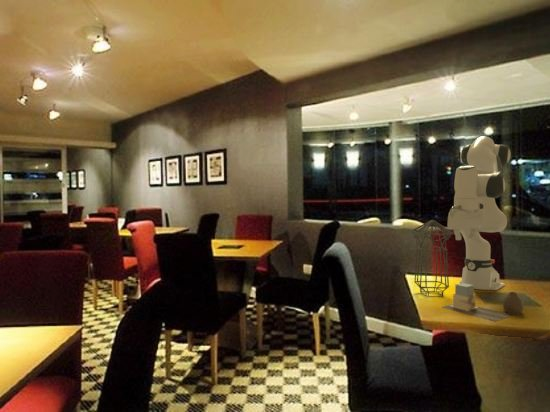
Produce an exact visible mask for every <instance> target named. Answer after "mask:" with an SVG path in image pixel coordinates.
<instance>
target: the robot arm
mask: <svg viewBox="0 0 550 412" xmlns="http://www.w3.org/2000/svg"><path fill="white" fill-rule="evenodd" d="M511 155H512V154H511V149H510V146H508V145H507V144H495V142H494V140H493V139H492V138H491V137H489V136H486V135H485V136H484V135H483V136H482V135H481V136H478V137H477V138H476V139H474V140H473V142H472V143H471V144H466V145H465V146H464V147H462V150H461V152H460V160H461V163H462V164H463V165H461V166H458V167H457V168H456V170H455V174H454V182H453V190H454V197H453V205H452V207H451V208H450V210H449V212H448V216H447V229H449V230H453V233H455V234H454V236H455V241H462V239H464V242H465V257H464V265H465V266H464V267H463V268H462V274H461V275H462V276H461V280H459V284H460V283H465V284H470V285H474V290H484V291H486V290H488V291H497V290H499V289H502V288H503V287H504V286H505V283H504V282H502V281H500V273H498V271H497V270H496V269H495V268H494V267H493V264H495V262H496V261H495V259H492V258H491V249H492V248H491V244H490V242H489V241H488V240H487V239H484V238H483V237H482V236H481V234H480V232H481V233H482V232H483V233H498V232H503V231H505V229H506V227H507V225H508V219H507V216H506V214H505V213H504V212H503V211H501V210H500V209H499V207H498V205H497V203H496V199H498V198H499V197H501V196H503V195H504V194H505V190H506V181H505V178H504V174H503V173H504V172H503V167H505V166H507V164H508V163H509V161H510V159H511ZM462 237H463V238H462Z"/></svg>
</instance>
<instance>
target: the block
mask: <svg viewBox="0 0 550 412" xmlns="http://www.w3.org/2000/svg"><path fill="white" fill-rule="evenodd" d="M452 298H453V301H452V304H453V306H455V307H459V308H463V309H470V308H474V307H475V306H476V294H474V295H471V296H468V297H466V296H461V295H457V294H455V293H453V294H452Z"/></svg>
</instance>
